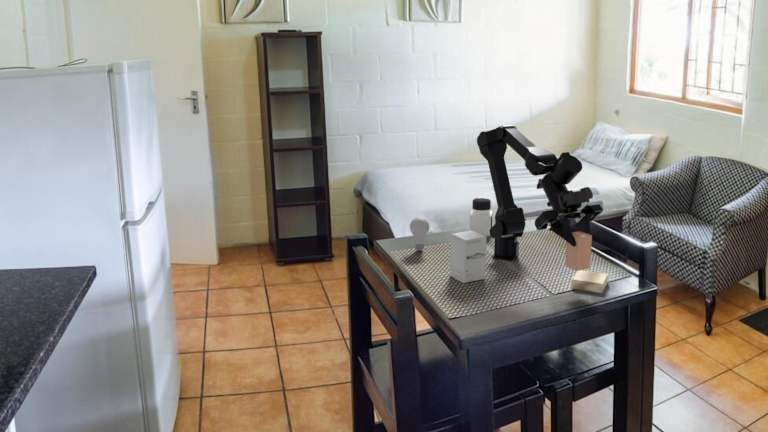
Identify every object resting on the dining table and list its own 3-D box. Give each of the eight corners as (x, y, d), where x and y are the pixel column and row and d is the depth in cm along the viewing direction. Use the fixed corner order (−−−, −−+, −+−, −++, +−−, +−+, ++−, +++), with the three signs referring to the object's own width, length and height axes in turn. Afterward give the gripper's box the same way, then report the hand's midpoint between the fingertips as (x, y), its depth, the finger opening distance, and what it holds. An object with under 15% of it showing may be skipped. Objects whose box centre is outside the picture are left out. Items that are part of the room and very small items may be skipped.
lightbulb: (432, 249, 223) (433, 216, 220) (423, 255, 218) (423, 220, 215) (416, 246, 226) (415, 213, 223) (406, 252, 221) (406, 218, 218)
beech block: (571, 289, 189) (572, 279, 189) (577, 280, 196) (578, 269, 195) (601, 294, 186) (602, 283, 185) (607, 284, 193) (608, 274, 192)
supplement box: (464, 284, 194) (464, 240, 190) (449, 275, 200) (449, 233, 196) (486, 279, 197) (487, 236, 193) (471, 271, 203) (471, 229, 200)
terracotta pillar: (565, 265, 187) (567, 233, 184) (578, 263, 188) (580, 230, 186) (576, 270, 183) (578, 237, 180) (589, 268, 184) (592, 235, 182)
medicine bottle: (490, 236, 235) (491, 201, 232) (469, 235, 236) (470, 201, 233) (492, 230, 242) (493, 196, 239) (471, 229, 243) (471, 195, 240)
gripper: (543, 181, 179) (569, 234, 172) (601, 173, 186) (627, 224, 180) (523, 204, 188) (547, 255, 181) (579, 195, 195) (604, 245, 189)
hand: (582, 244), depth 183 cm, fingers closed on terracotta pillar, 4 cm apart
